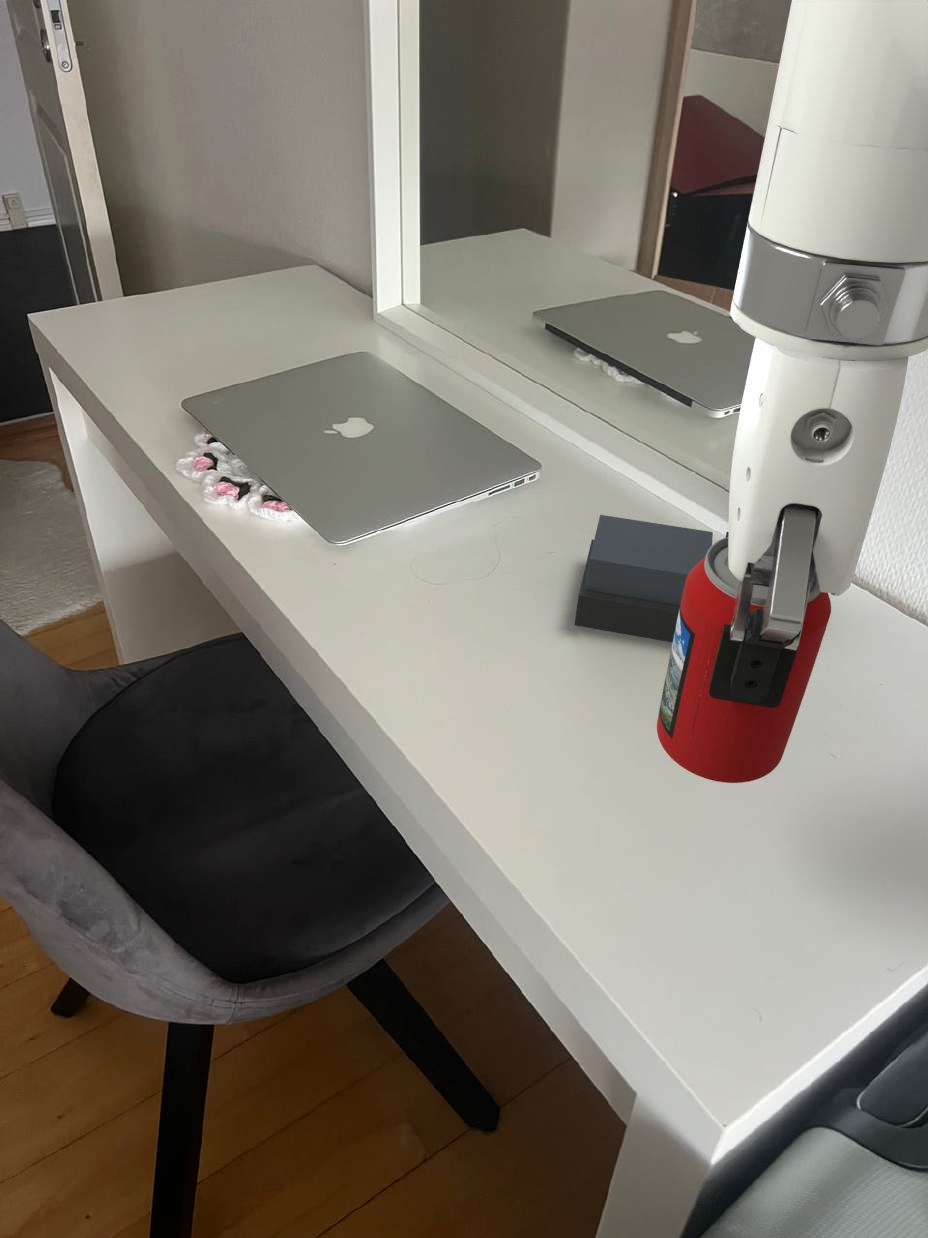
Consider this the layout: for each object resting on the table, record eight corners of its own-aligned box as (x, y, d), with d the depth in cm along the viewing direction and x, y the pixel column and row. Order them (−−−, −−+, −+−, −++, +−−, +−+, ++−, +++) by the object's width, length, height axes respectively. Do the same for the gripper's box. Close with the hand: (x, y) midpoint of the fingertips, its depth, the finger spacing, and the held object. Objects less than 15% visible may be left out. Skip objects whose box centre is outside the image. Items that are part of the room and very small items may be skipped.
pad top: (705, 562, 74) (712, 531, 72) (702, 609, 70) (710, 578, 68) (595, 544, 76) (600, 514, 74) (585, 590, 71) (589, 558, 69)
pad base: (705, 587, 77) (712, 558, 75) (702, 647, 71) (709, 617, 69) (587, 567, 78) (591, 538, 76) (574, 625, 72) (578, 595, 70)
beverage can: (699, 685, 53) (741, 509, 46) (804, 747, 49) (868, 566, 42) (628, 744, 49) (661, 564, 42) (736, 815, 46) (793, 631, 38)
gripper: (998, 392, 27) (835, 794, 38) (914, 226, 40) (811, 560, 51) (735, 365, 28) (653, 761, 39) (738, 212, 41) (676, 541, 52)
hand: (743, 645), depth 45 cm, fingers closed on beverage can, 6 cm apart
